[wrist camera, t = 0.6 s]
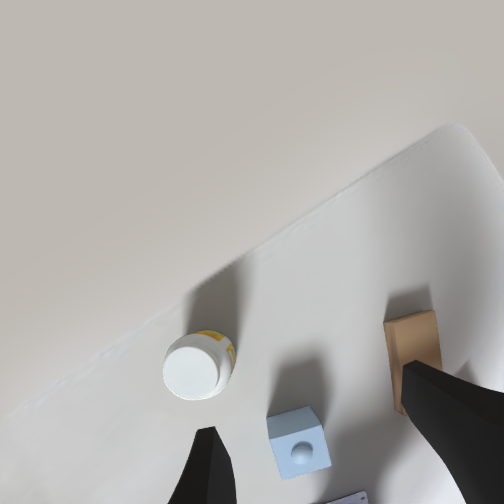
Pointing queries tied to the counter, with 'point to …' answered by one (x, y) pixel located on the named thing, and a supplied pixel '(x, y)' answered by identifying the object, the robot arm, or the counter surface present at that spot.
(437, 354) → the base brick
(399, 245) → the counter surface
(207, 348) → the supplement bottle
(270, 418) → the blue brick
